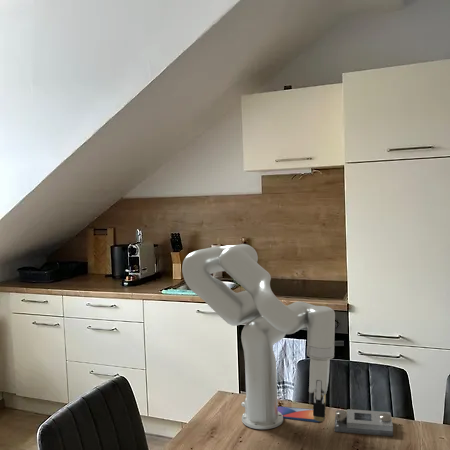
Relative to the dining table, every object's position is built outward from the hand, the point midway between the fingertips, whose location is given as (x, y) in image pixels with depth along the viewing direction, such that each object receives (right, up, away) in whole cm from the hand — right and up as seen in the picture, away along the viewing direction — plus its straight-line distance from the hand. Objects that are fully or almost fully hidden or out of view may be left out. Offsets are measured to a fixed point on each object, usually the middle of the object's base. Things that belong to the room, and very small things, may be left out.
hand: (319, 412), depth 141 cm
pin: (0, -2, 0) cm, 2 cm away
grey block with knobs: (+14, -6, +4) cm, 15 cm away
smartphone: (-4, -6, +13) cm, 15 cm away
